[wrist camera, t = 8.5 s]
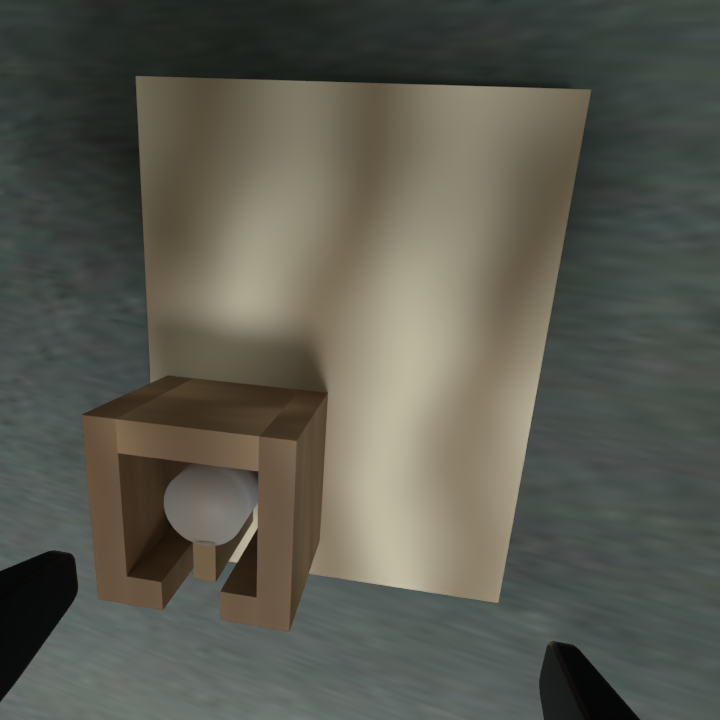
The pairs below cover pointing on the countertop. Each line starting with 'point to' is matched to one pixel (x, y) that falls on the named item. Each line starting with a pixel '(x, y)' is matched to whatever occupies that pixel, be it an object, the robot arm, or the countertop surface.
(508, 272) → the plate
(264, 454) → the slotted channel bracket
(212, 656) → the countertop surface
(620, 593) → the countertop surface
